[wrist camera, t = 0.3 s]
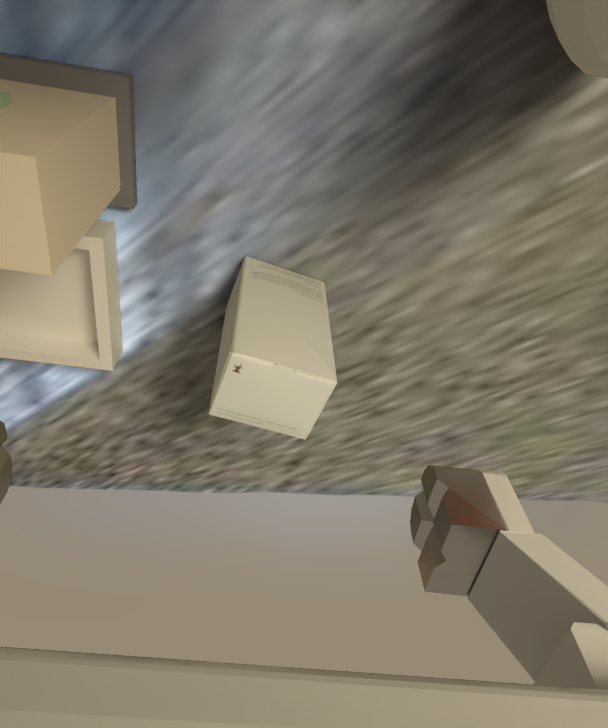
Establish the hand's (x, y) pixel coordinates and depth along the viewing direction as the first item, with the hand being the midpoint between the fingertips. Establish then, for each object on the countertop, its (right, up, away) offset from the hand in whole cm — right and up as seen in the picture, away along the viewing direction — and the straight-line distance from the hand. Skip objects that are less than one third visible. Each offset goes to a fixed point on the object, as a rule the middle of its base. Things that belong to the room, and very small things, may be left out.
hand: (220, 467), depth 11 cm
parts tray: (-23, +10, +40) cm, 47 cm away
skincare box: (-1, +9, +41) cm, 42 cm away
